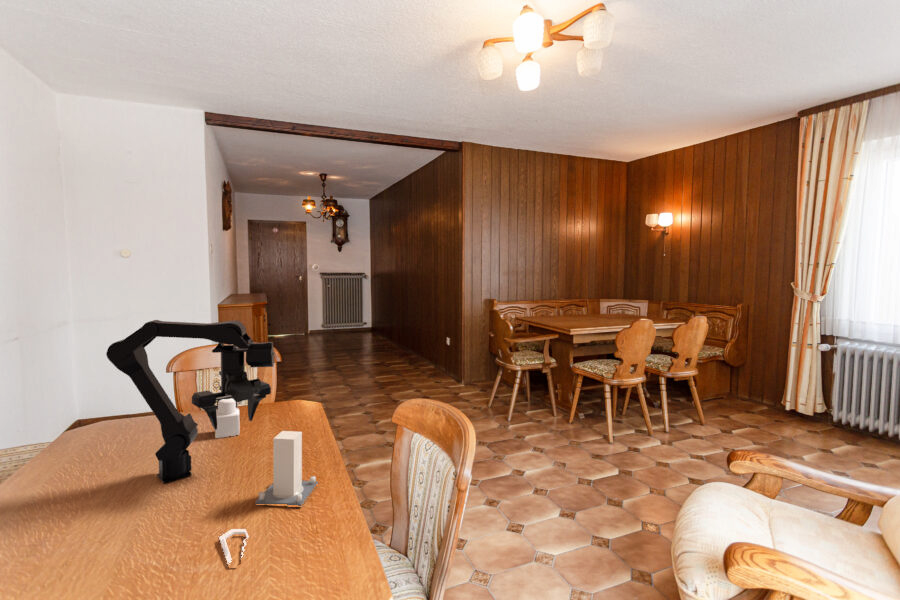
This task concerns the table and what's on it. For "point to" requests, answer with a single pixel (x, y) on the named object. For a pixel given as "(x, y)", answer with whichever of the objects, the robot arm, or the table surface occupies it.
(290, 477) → the block
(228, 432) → the medicine bottle
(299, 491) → the locating plate
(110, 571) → the table surface
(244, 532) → the white bent piece
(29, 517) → the table surface
